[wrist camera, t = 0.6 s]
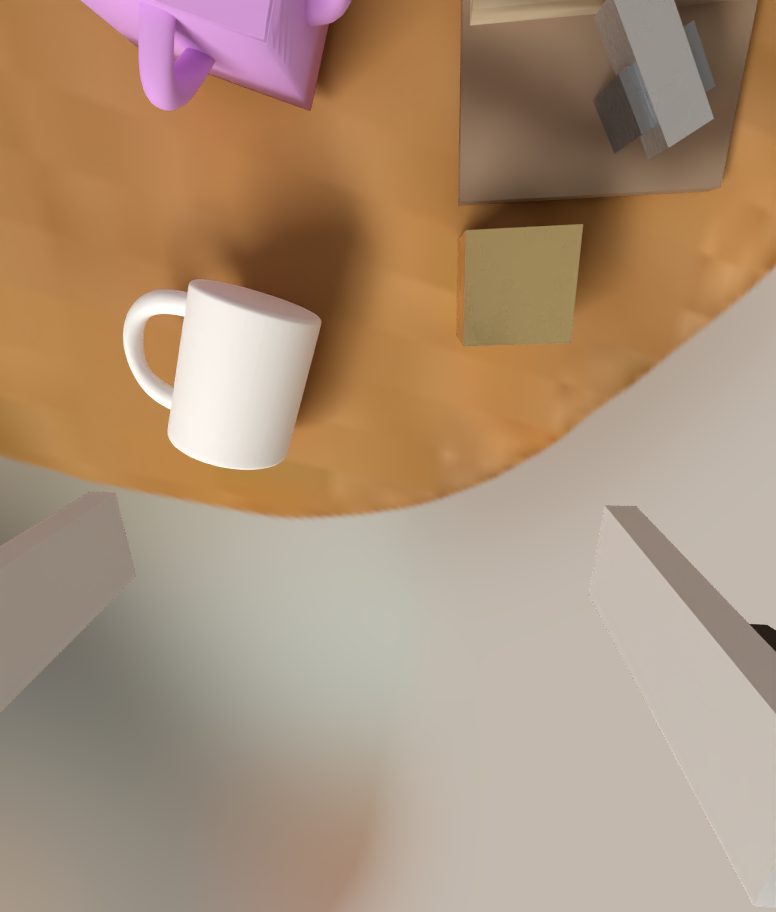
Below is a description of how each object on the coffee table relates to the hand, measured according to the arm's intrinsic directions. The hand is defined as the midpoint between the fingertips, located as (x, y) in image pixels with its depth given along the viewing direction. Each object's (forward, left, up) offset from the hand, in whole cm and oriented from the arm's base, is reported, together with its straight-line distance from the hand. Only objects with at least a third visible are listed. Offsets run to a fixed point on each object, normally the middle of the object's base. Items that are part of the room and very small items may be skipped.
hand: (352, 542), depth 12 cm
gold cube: (-6, +7, -22) cm, 24 cm away
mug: (-2, -12, -22) cm, 25 cm away
